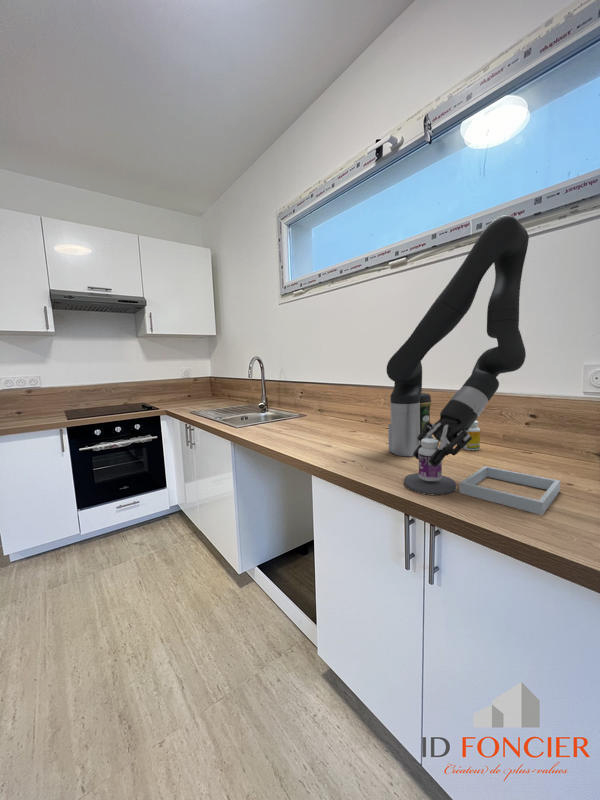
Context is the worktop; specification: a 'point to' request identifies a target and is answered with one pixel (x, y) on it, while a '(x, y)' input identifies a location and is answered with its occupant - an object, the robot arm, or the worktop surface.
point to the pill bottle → (425, 468)
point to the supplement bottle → (473, 437)
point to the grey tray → (509, 499)
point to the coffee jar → (424, 410)
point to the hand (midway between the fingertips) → (423, 460)
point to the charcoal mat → (430, 485)
